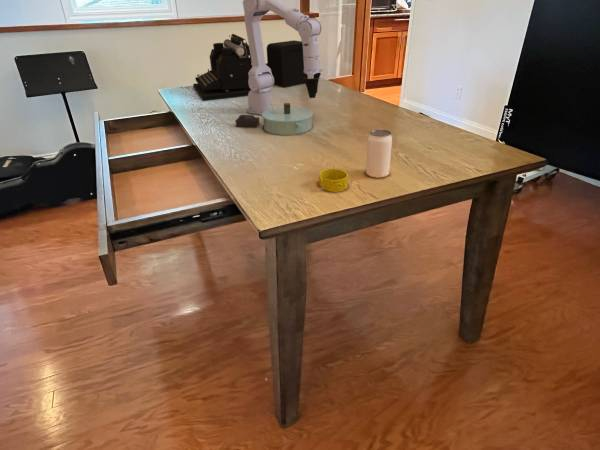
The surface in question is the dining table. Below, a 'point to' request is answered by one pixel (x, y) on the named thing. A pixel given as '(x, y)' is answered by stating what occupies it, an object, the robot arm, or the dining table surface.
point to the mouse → (247, 121)
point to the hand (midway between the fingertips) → (313, 95)
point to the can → (379, 153)
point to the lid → (287, 114)
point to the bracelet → (333, 180)
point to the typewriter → (226, 71)
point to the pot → (288, 127)
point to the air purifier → (286, 63)
